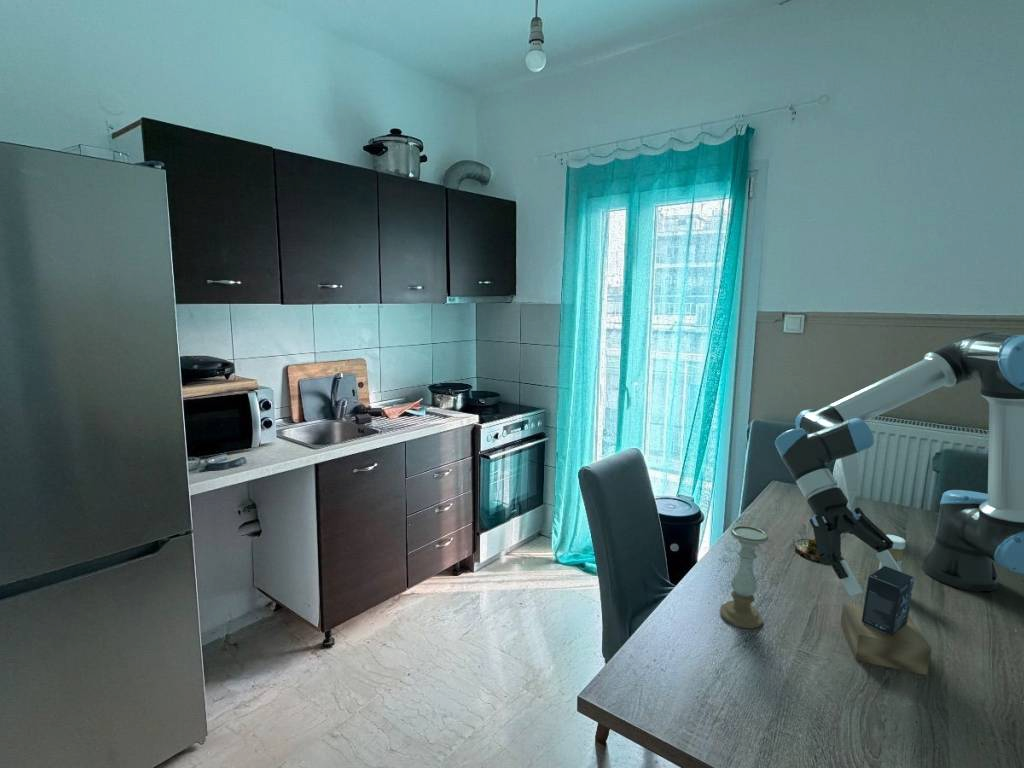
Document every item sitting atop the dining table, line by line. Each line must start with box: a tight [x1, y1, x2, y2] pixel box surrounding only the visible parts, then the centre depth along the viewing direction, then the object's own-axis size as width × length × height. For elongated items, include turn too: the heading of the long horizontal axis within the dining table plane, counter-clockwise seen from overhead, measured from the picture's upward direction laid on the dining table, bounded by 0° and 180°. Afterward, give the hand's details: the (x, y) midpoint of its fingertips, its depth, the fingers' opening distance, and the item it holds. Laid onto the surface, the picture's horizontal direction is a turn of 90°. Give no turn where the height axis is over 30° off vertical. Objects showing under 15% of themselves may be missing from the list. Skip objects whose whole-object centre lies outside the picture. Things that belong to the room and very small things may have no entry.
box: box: [862, 566, 915, 636], centre depth 108 cm, size 8×6×11 cm
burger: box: [793, 535, 842, 564], centre depth 151 cm, size 12×12×8 cm
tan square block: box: [839, 602, 932, 676], centre depth 110 cm, size 12×12×6 cm
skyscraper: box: [832, 453, 861, 526], centre depth 171 cm, size 8×8×28 cm
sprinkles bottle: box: [878, 534, 907, 570], centre depth 132 cm, size 5×5×14 cm
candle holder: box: [719, 524, 769, 629], centre depth 118 cm, size 9×9×20 cm
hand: (879, 588), depth 110 cm, fingers open, 13 cm apart
